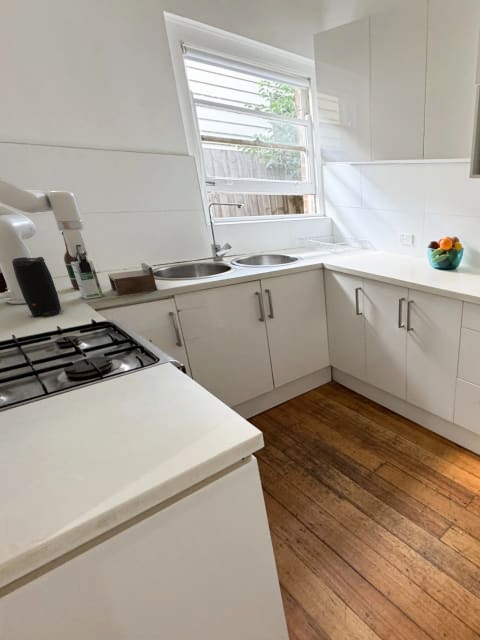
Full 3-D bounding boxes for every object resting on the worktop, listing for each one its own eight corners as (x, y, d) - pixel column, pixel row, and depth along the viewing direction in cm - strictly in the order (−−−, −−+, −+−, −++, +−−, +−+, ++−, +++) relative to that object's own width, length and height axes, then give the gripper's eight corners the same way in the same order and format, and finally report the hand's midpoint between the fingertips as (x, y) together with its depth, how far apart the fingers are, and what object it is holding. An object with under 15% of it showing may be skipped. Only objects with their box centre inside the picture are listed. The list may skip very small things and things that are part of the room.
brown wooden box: (118, 295, 158) (112, 271, 154) (112, 289, 166) (105, 266, 163) (157, 290, 167) (151, 267, 164) (149, 284, 176) (144, 263, 172)
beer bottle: (99, 286, 172) (83, 231, 162) (81, 290, 165) (63, 233, 156) (86, 284, 173) (69, 230, 164) (68, 288, 166) (49, 232, 157)
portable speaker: (44, 318, 130) (23, 261, 122) (23, 316, 132) (1, 259, 124) (70, 311, 138) (51, 257, 130) (50, 309, 140) (31, 255, 132)
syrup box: (86, 299, 152) (74, 263, 146) (81, 296, 155) (70, 261, 150) (103, 296, 156) (92, 261, 151) (98, 294, 159) (88, 259, 154)
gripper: (55, 224, 148) (69, 268, 155) (60, 228, 137) (75, 275, 144) (79, 223, 153) (92, 266, 160) (86, 227, 142) (100, 272, 149)
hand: (84, 270), depth 152 cm, fingers open, 9 cm apart
